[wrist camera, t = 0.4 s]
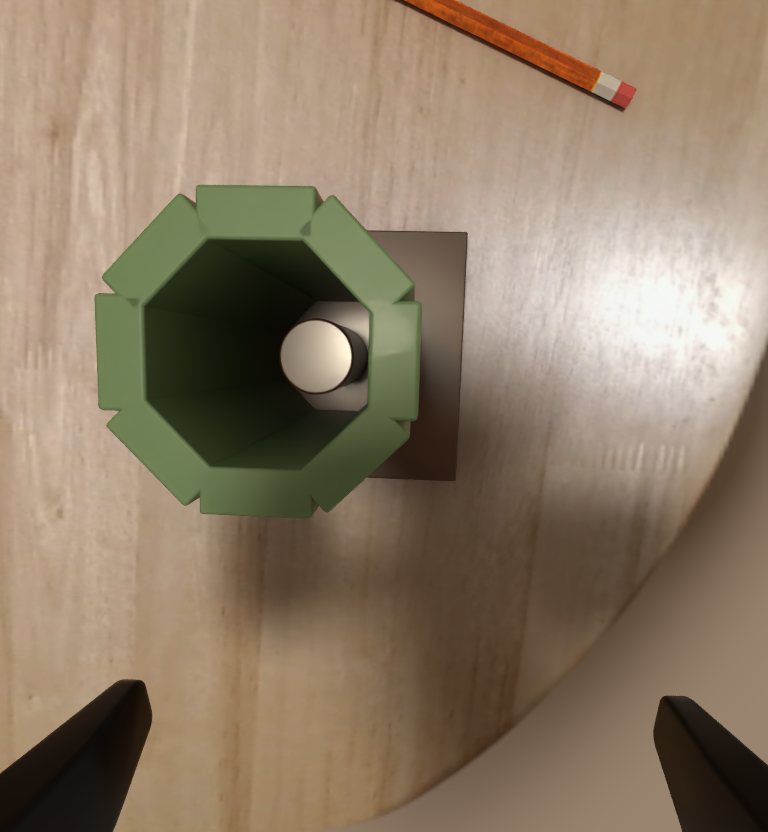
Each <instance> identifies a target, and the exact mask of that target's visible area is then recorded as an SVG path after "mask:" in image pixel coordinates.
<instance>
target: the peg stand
mask: <svg viewBox="0 0 768 832" xmlns="http://www.w3.org/2000/svg"><path fill="white" fill-rule="evenodd" d="M368 233H369V234H370V235H371V236H372V237H373V238H374V239H375V240H376V241H377V242H378V243H379V244H380V246H381V247H382V248H383V249H384V250H385V251H386V252H387V253H388V254H389V255H390V256H391V257H392V259H393V260H394V261H395V262H396V263H397V264H398V265H399V266H400V267H401V268H402V269H403V270H404V272H405V273H406V274H407V275H408V276H409V277H410V278H411V279H412V280H413V281H414V283H415V301H418V302H420V303H421V304H422V327H421V354H420V380H419V406H418V418H417V420H415V421H410V437H409V439H408V440H407V441H406V442H405V443H404V444H403V445H401V446H400V447H399V448H398V449H397V450H396V451H395V452H394V453H393V454H392V455H391V456H389V457H388V458H387V459H386V460H385V461H384V462H383V463H382V464H381V465H380V466H378V467H377V468H376V469H375V470H374V471H373V472H372V473H371V474H370V475H369V476H368V477H366V478H390V479H413V480H436V481H456V466H457V445H458V424H459V403H460V382H461V361H462V340H463V319H464V298H465V277H466V256H467V235H468V233H467V232H426V231H368ZM369 315H370V313H369V312H368V310H367V309H366V308H365V307H364V306H363V305H362V304H361V303H360V302H338V301H316V302H315V303H314V304H313V305H312V306H311V307H310V308H309V309H308V310H307V311H306V312H305V313H304V314H303V315H302V316H301V317H300V318H299V319H298V320H297V321H296V322H295V323H294V324H293V325H292V326H291V327H290V328H289V329H288V330H287V331H286V332H285V336H284V338H283V340H282V342H281V345H280V350H279V362H280V366H281V370H282V372H283V374H284V376H285V378H286V379H287V380H288V381H289V383H290V384H291V385H292V386H293V387H294V388H295V389H296V390H297V391H298V392H299V393H300V394H301V395H302V396H303V397H304V398H305V399H306V400H307V401H308V403H309V404H310V405H311V406H312V407H313V408H314V409H315V410H340V411H360V410H361V409H362V408H363V407H364V406H365V405H366V404H367V392H368V353H369Z"/></svg>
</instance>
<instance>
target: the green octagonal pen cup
mask: <svg viewBox="0 0 768 832" xmlns="http://www.w3.org/2000/svg"><path fill="white" fill-rule="evenodd" d="M102 279H103V280H104V282H105V283H106V284H107V285H108V286H109V287H110V288H111V289H112V290H113V291H114V292H115V293H116V294H107V293H99V294H96V295H95V320H96V347H97V374H98V401H99V408H100V409H102V410H116V411H119V412H118V413H117V414H116V415H115V416H114V417H113V418H112V419H111V420H110V421H109V422H108V423H107V425H106V426H107V427H108V428H109V429H110V430H111V431H112V432H113V434H114V435H115V436H116V437H117V438H118V439H119V440H120V441H121V442H122V443H123V444H124V445H125V446H126V447H127V448H128V449H129V450H130V451H131V452H132V453H133V454H134V455H135V456H136V457H137V458H138V459H139V460H140V461H141V462H142V463H143V464H144V465H145V466H146V467H147V468H148V469H149V470H150V471H151V472H152V473H153V474H154V476H155V477H156V478H157V479H158V480H159V481H160V482H161V483H162V484H163V485H164V486H165V487H166V488H167V489H168V490H169V491H170V492H171V493H172V494H173V495H174V496H175V497H176V498H177V499H178V500H179V501H180V502H181V503H182V504H183V505H185V506H186V505H188V504H190V503H192V502H193V501H195V500H196V499H198V498H199V497H200V512H201V513H202V514H218V515H239V516H259V517H280V518H301V519H310V518H311V517H312V516H313V514H314V513H315V511H316V509H317V508H318V506H320V507H321V508H322V509H323V510H324V511H325V512H329V511H330V510H332V509H333V508H334V507H335V506H336V505H337V504H338V503H339V502H340V501H341V500H342V499H344V498H345V497H346V496H347V495H348V494H349V493H350V492H351V491H352V490H353V489H354V488H356V487H357V486H358V485H359V484H360V483H361V482H362V481H363V480H364V479H365V478H366V477H368V476H369V475H370V474H371V473H372V472H373V471H374V470H375V469H376V468H377V467H378V466H380V465H381V464H382V463H383V462H384V461H385V460H386V459H387V458H388V457H389V456H391V455H392V454H393V453H394V452H395V451H396V450H397V449H398V448H399V447H400V446H401V445H403V444H404V443H405V442H406V441H407V440H408V439H409V437H410V421H415V420H417V418H418V406H419V380H420V354H421V327H422V304H421V303H420V302H418V301H415V283H414V281H413V280H412V279H411V278H410V277H409V276H408V275H407V274H406V273H405V272H404V270H403V269H402V268H401V267H400V266H399V265H398V264H397V263H396V262H395V261H394V260H393V259H392V257H391V256H390V255H389V254H388V253H387V252H386V251H385V250H384V249H383V248H382V247H381V246H380V244H379V243H378V242H377V241H376V240H375V239H374V238H373V237H372V236H371V235H370V234H369V233H368V231H367V230H366V229H365V228H364V227H363V226H362V225H361V224H360V223H359V222H358V221H357V220H356V218H355V217H354V216H353V215H352V214H351V213H350V212H349V211H348V210H347V209H346V208H345V207H344V205H343V204H342V203H341V202H340V201H339V200H338V199H337V198H336V197H335V196H334V195H331V196H329V197H328V198H327V199H326V200H325V201H324V202H323V200H322V198H321V196H320V195H319V193H318V191H317V190H316V188H315V187H313V186H249V185H198V186H197V187H196V203H195V202H193V201H192V200H190V199H189V198H187V197H186V196H185V195H183V194H178V195H177V196H176V197H175V198H174V199H173V200H172V201H171V202H170V203H169V204H168V205H167V206H166V207H165V208H164V210H163V211H162V212H161V213H160V214H159V215H158V216H157V217H156V218H155V219H154V220H153V221H152V223H151V224H150V225H149V226H148V227H147V228H146V229H145V230H144V231H143V232H142V233H141V234H140V235H139V237H138V238H137V239H136V240H135V241H134V242H133V243H132V244H131V245H130V246H129V247H128V248H127V249H126V251H125V252H124V253H123V254H122V255H121V256H120V257H119V258H118V259H117V260H116V261H115V262H114V263H113V265H112V266H111V267H110V268H109V269H108V270H107V271H106V272H105V273H104V274H103V276H102ZM316 301H338V302H360V303H361V304H362V305H363V306H364V307H365V308H366V309H367V310H368V312H369V313H370V315H369V353H368V392H367V404H366V405H365V406H364V407H363V408H362V409H361V410H360V411H340V410H315V409H314V408H313V407H312V406H311V405H310V404H309V403H308V401H307V400H306V399H305V398H304V397H303V396H302V395H301V394H300V393H299V392H298V391H297V390H296V389H295V388H294V387H293V386H292V385H291V384H290V383H289V381H288V380H287V379H286V378H285V376H284V374H283V372H282V370H281V366H280V362H279V350H280V345H281V342H282V340H283V338H284V336H285V332H286V331H287V330H288V329H289V328H290V327H291V326H292V325H293V324H294V323H295V322H296V321H297V320H298V319H299V318H300V317H301V316H302V315H303V314H304V313H305V312H306V311H307V310H308V309H309V308H310V307H311V306H312V305H313V304H314V303H315V302H316Z"/></svg>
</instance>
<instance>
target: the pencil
mask: <svg viewBox="0 0 768 832" xmlns="http://www.w3.org/2000/svg"><path fill="white" fill-rule="evenodd" d="M404 1H406V2H408V3H411V4H413V5H415V6H417V7H419V8H421V9H423V10H425V11H427V12H429V13H431V14H433V15H435V16H437V17H439V18H441V19H443V20H445V21H447V22H449V23H452V24H454V25H456V26H458V27H460V28H462V29H464V30H466V31H468V32H470V33H472V34H474V35H476V36H478V37H480V38H482V39H484V40H486V41H488V42H490V43H492V44H495V45H497V46H499V47H501V48H503V49H505V50H507V51H509V52H511V53H513V54H515V55H517V56H519V57H521V58H523V59H525V60H527V61H529V62H531V63H533V64H536V65H538V66H540V67H542V68H544V69H546V70H548V71H550V72H552V73H554V74H556V75H558V76H560V77H562V78H564V79H566V80H568V81H570V82H572V83H574V84H576V85H579V86H581V87H583V88H585V89H587V90H589V91H591V92H593V93H595V94H597V95H599V96H601V97H603V98H605V99H607V100H609V101H611V102H613V103H615V104H617V105H620V106H622V107H624V108H626V107H627V105H628V104H629V102H630V101H631V99H632V98H633V96H634V94H635V92H636V88H634V87H632V86H630V85H628V84H626V83H624V82H622V81H620V80H618V79H616V78H614V77H612V76H610V75H608V74H606V73H604V72H601V71H599V70H597V69H595V68H593V67H591V66H589V65H587V64H585V63H583V62H581V61H579V60H577V59H575V58H573V57H571V56H569V55H567V54H565V53H563V52H561V51H558V50H556V49H554V48H552V47H550V46H548V45H546V44H544V43H542V42H540V41H538V40H536V39H534V38H532V37H530V36H528V35H526V34H524V33H522V32H520V31H517V30H515V29H513V28H511V27H509V26H507V25H505V24H503V23H501V22H499V21H497V20H495V19H493V18H491V17H489V16H487V15H485V14H483V13H481V12H479V11H476V10H474V9H472V8H470V7H468V6H466V5H464V4H462V3H460V2H458V1H456V0H404Z"/></svg>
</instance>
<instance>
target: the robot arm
mask: <svg viewBox="0 0 768 832" xmlns="http://www.w3.org/2000/svg"><path fill="white" fill-rule="evenodd" d="M151 723H152V710H151V706H150V702H149V698H148V693H147V689H146V686H145V683H144V682H143V681H142V680H128V679H123V680H119V681H117V682H116V683H114V684H113V685H112V686H110V687H109V688H108V689H107V690H105V691H104V692H103V693H102V694H100V695H99V696H98V697H96V698H95V699H94V700H93V701H91V702H90V703H89V704H88V705H86V706H85V707H84V708H83V709H81V710H80V711H79V712H78V713H76V714H75V715H74V716H72V717H71V718H70V719H69V720H67V721H66V722H65V723H64V724H62V725H61V726H60V727H59V728H57V729H56V730H55V731H53V732H52V733H51V734H50V735H48V736H47V737H46V738H45V739H43V740H42V741H41V742H40V743H38V744H37V745H36V746H34V747H33V748H32V749H31V750H29V751H28V752H27V753H26V754H24V755H23V756H22V757H21V758H19V759H18V760H17V761H15V762H14V763H13V764H12V765H10V766H9V767H8V768H7V769H5V770H4V771H3V772H2V773H0V832H113V830H114V828H115V825H116V823H117V820H118V817H119V815H120V812H121V809H122V807H123V804H124V801H125V798H126V795H127V793H128V790H129V787H130V784H131V781H132V778H133V776H134V773H135V770H136V767H137V764H138V761H139V759H140V756H141V753H142V750H143V747H144V745H145V742H146V739H147V736H148V733H149V730H150V727H151ZM653 734H654V735H653V736H654V742H655V747H656V750H657V753H658V756H659V759H660V762H661V765H662V769H663V772H664V775H665V778H666V781H667V784H668V788H669V791H670V794H671V797H672V800H673V803H674V806H675V810H676V813H677V815H678V819H679V822H680V825H681V828H682V832H768V765H767V764H766V763H765V762H764V761H762V760H761V759H760V758H759V757H758V756H757V755H755V754H754V753H753V752H752V751H751V750H750V749H749V748H747V747H746V746H745V745H744V744H743V743H742V742H740V741H739V740H738V739H737V738H736V737H735V736H734V735H732V734H731V733H730V732H729V731H728V730H727V729H726V728H724V727H723V726H722V725H721V724H720V723H719V722H717V721H716V720H715V719H714V718H713V717H712V716H711V715H709V714H708V713H707V712H706V711H705V710H704V709H702V708H701V707H700V706H699V705H698V704H697V703H695V702H694V701H693V700H692V699H690V698H688V697H685V696H664V697H662V698H661V700H660V703H659V707H658V712H657V716H656V721H655V725H654V731H653Z"/></svg>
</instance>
